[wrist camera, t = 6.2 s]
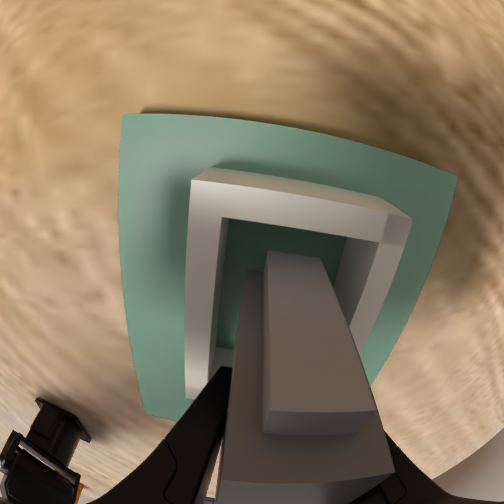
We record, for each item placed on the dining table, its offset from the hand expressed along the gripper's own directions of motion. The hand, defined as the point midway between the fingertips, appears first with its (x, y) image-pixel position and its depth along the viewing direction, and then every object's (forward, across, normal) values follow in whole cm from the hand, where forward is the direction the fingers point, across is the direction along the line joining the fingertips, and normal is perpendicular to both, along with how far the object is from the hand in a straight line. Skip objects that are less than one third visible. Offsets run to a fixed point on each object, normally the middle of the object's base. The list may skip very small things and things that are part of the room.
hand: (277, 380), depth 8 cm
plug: (+2, 0, 0) cm, 3 cm away
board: (+6, 0, +2) cm, 7 cm away
